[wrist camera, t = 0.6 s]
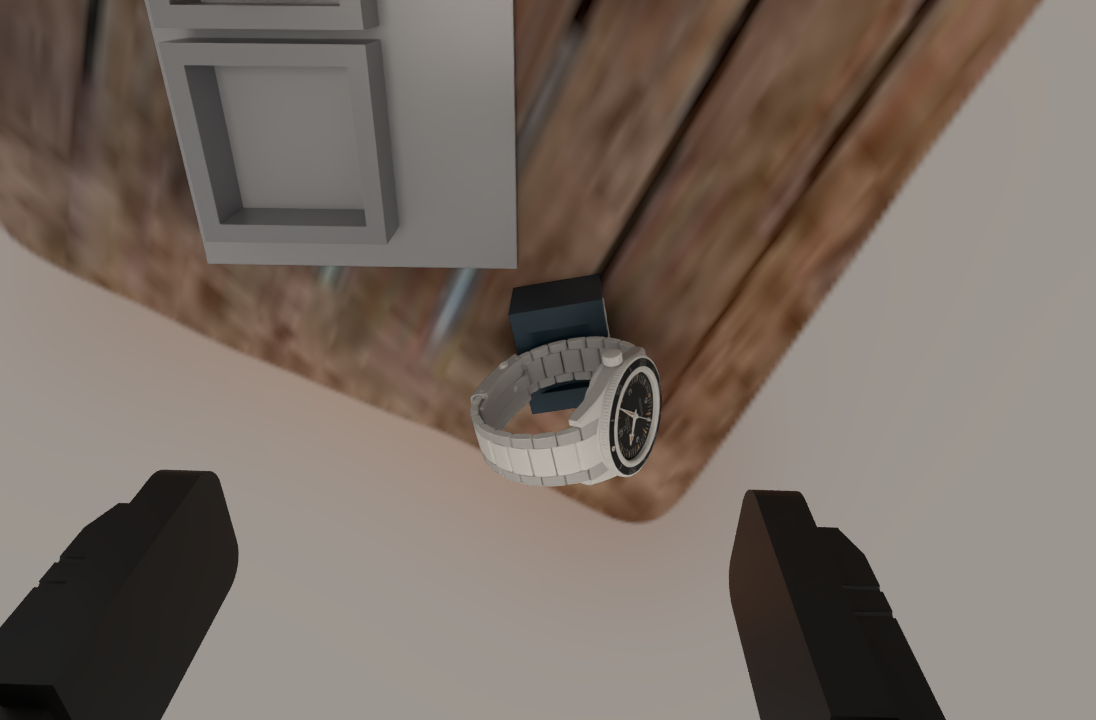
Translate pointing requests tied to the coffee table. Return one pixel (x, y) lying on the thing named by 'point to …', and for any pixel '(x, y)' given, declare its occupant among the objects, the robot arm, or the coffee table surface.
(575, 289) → the watch
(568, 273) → the coffee table surface
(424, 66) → the housing
